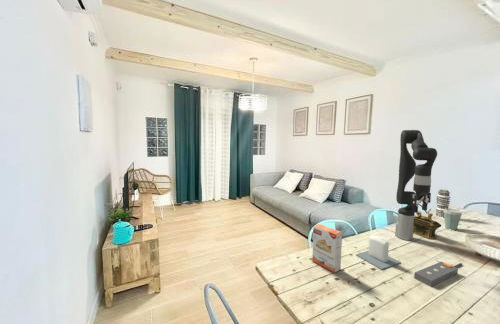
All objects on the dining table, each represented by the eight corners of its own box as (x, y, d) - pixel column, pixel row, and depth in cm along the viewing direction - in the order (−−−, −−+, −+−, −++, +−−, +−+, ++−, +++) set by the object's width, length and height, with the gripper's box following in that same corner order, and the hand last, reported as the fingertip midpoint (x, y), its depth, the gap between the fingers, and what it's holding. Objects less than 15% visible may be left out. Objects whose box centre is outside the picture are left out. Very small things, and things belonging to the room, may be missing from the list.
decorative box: (441, 238, 150) (443, 211, 148) (432, 240, 147) (434, 212, 145) (411, 228, 169) (413, 203, 167) (402, 229, 165) (404, 204, 164)
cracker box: (311, 261, 120) (312, 225, 119) (318, 258, 124) (319, 223, 122) (334, 273, 109) (336, 234, 107) (341, 269, 113) (342, 231, 111)
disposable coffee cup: (456, 227, 170) (458, 209, 168) (463, 232, 160) (465, 213, 159) (439, 225, 174) (441, 207, 173) (445, 230, 164) (446, 211, 163)
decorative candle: (450, 220, 186) (452, 191, 184) (436, 218, 191) (438, 190, 189) (447, 216, 194) (449, 189, 192) (434, 215, 199) (436, 188, 197)
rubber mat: (355, 255, 127) (355, 254, 127) (373, 249, 134) (373, 249, 134) (381, 269, 113) (381, 268, 113) (400, 263, 119) (400, 262, 119)
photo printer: (367, 254, 127) (368, 234, 126) (372, 253, 129) (373, 233, 128) (384, 263, 118) (385, 241, 117) (389, 261, 120) (390, 240, 118)
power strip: (413, 277, 106) (413, 270, 106) (452, 261, 121) (453, 255, 121) (430, 286, 100) (431, 279, 99) (470, 268, 115) (470, 261, 114)
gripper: (422, 181, 127) (420, 207, 128) (406, 183, 121) (404, 210, 123) (437, 183, 120) (434, 211, 121) (421, 185, 114) (419, 215, 116)
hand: (419, 211), depth 122 cm, fingers open, 8 cm apart
